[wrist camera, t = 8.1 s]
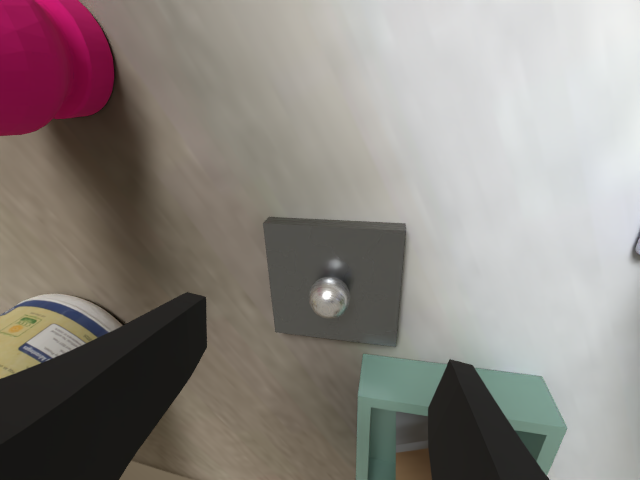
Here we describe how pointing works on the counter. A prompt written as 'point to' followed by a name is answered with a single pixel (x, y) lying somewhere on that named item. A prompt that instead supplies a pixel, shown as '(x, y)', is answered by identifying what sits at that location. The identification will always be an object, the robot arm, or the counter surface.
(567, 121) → the counter surface
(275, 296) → the base
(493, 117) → the counter surface
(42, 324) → the supplement tub
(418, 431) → the strut
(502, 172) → the counter surface
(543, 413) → the bin
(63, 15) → the pepper mill
